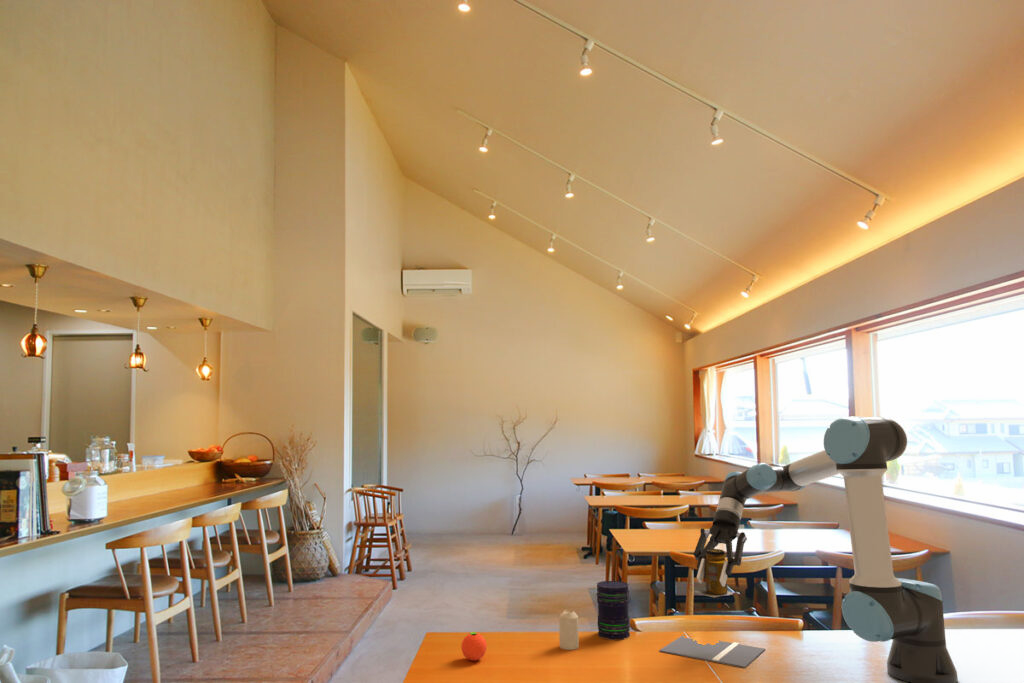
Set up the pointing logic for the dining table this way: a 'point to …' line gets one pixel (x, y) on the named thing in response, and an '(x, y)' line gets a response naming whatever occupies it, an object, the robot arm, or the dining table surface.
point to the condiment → (714, 574)
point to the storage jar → (613, 610)
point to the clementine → (474, 646)
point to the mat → (714, 651)
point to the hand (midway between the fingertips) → (710, 581)
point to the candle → (568, 630)
